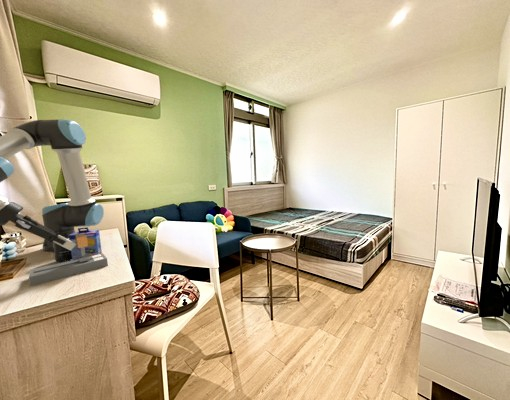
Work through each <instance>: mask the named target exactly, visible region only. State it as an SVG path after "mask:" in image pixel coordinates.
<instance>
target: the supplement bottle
mask: <svg viewBox="0 0 510 400" xmlns="http://www.w3.org/2000/svg"><path fill="white" fill-rule="evenodd" d="M58 235H60V236H62V237H64V238H66V239H68V240H69V235H70V233H69V232H66V233H59V234H58ZM53 246H54V251H53V253H54V262H56V263H63V262H67V261H72V254H71V251H70V250H68V249H66V248H64V247H62V246H60V245H58V244H56V243H53Z"/></svg>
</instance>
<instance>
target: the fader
mask: <svg viewBox="0 0 510 400" xmlns="http://www.w3.org/2000/svg"><path fill="white" fill-rule="evenodd" d="M75 237H76V244H77V247H78V248H81V256H78V258H79V261H80V262H83V261H88V260H90V259H89V256H88V254H85V247H87V246H88V242H87V236H86V235H85V234H80V235H75Z"/></svg>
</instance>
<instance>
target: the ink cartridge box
mask: <svg viewBox="0 0 510 400" xmlns="http://www.w3.org/2000/svg"><path fill="white" fill-rule="evenodd" d="M80 234H85V235H86V236H87V242H88V246H87V247H85V254H88V256H94V255H98V254H102V253H103V251H102V243H101V235H100V230H99V229H93V230H90V229H89V226H85V227H79V228H78V227H77V231H75V232H74V233H72V234H70V235H69V240H70V241H72V242H74V243H76V237H75V235H80ZM71 254H72V260H76V259H79V258H78V256H81V248H78V247H77V244H76V245H75V246H74V248H73V249H72V250H71ZM72 260H71V261H72Z"/></svg>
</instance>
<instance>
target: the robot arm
mask: <svg viewBox="0 0 510 400" xmlns="http://www.w3.org/2000/svg"><path fill="white" fill-rule="evenodd" d="M86 139H87V137H86V134H85V130H84V128H82V126H81V125H80V124H79V123H77V122H76V121H75V120H72V119H64V118H62V119H61V118H60V119H36V120H32V121H31V120H30V121H28V122H24V123H22V124H19V125H17V126H15V127H12V128H10V129H8V130H7V132H6V133H5V134H3V135H1V136H0V183H2V182H3V181H5V180H8V178H9V177H11V176H12V175H13V174H14V173H15V167H14V165H13V164H12V163H11V162H10V161H9V160H8V158H10V157H12V156H14V155H16V154H18V153H19V152H22V151H24V150H32V149H34V148H35V147H41V146H42V147H43V146H44V147H45V146H50V147H51V150H52V151H53V152H55V153H56V154H57V158H58V160H59V163H60V164H59V165H60V167H61V172H62V174H63V178H64V181H65V185H66V188H67V192H68V195H69V199H70V201H69V202H66V203H65V202H64V203H59V204H58V203H57V204H51V205H47V206H44V207H42V209H41V210H42V211H41V212H42V214H41V216H42V222H43V224H41V223H39V222H38V221H36V220H35V219H33V218H32V217H30V216H28V215H27V214H26V215H22V214H20V212H22V211H23V209H24V207H23V206H21V205H20V204H18V203H16V202H13V201H10V199H9V198H7V197H5V196H3V195H1V194H0V226H3V227H4V226H5V225H6V224H7V223H8V222H11V223H13V224H14V226H15V227H17V228H19V229H20V230H24V231H26V232H28V233H31V234H33V235H35V236H37V237H39V238H41V239H43V242H42V251H43V252H54V246H53V243H56V244H58V245H60V246H62V247H64V248H66V249H68V250H70V251H71V250H72V249H73V248H74V246H75V245H76V243H74V242H72V241H70V240H68V239H66V238H64V237H62V236H60V235H58V234H59V233H66V232H69V233H70V234H72V233H74V232H76V231H75V228H78V227H79V228H82V227H94V226H97V225H99V224H100V223H101V222H102V220H103V218H104V215H105V214H104V213H105V212H104V207H103V206H102V204H100V203H97V201H96V199H95V198H93V197H92V194H91V191H90V187H89V183H88V179H87V176H86V175H87V174H86V171H85V167H84V164H83V159H82V155H81V151H82V150H83V145H84V144H85V143H86Z"/></svg>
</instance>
